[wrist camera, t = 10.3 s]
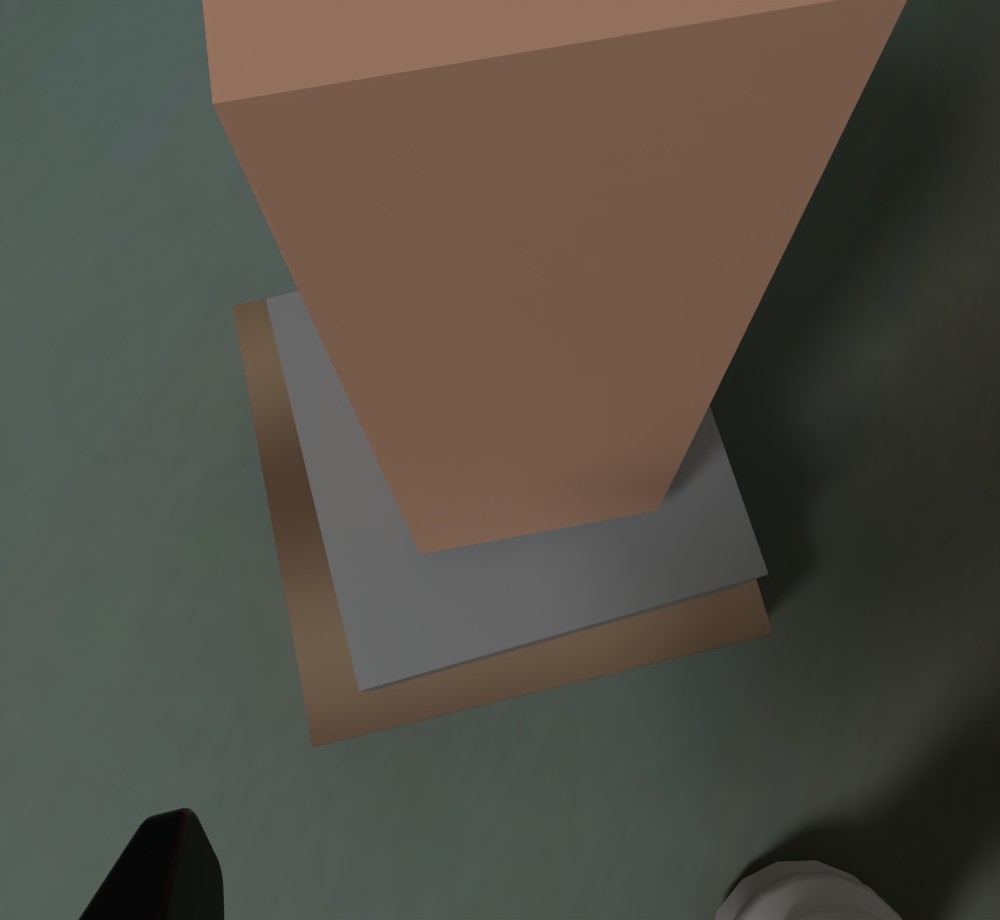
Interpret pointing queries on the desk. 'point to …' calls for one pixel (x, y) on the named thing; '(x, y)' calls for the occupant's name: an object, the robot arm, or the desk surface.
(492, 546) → the tower top
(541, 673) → the tower base
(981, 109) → the desk surface
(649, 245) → the pillar
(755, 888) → the rook chess piece
